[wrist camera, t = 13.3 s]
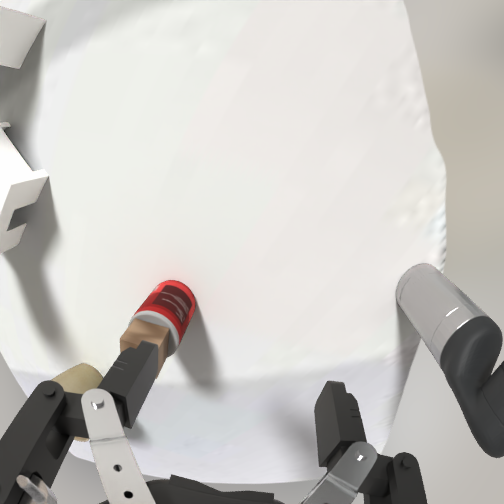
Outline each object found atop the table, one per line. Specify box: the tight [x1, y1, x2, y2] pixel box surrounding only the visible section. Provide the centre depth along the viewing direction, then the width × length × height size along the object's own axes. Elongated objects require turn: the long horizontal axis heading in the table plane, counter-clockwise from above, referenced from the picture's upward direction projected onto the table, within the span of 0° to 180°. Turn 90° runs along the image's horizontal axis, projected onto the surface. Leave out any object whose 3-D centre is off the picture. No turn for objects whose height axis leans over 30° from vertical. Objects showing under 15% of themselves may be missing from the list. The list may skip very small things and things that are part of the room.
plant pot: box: [51, 363, 103, 442], centre depth 49 cm, size 15×15×16 cm
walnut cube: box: [120, 318, 169, 379], centre depth 35 cm, size 5×5×5 cm
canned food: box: [128, 280, 195, 357], centre depth 42 cm, size 8×8×11 cm
